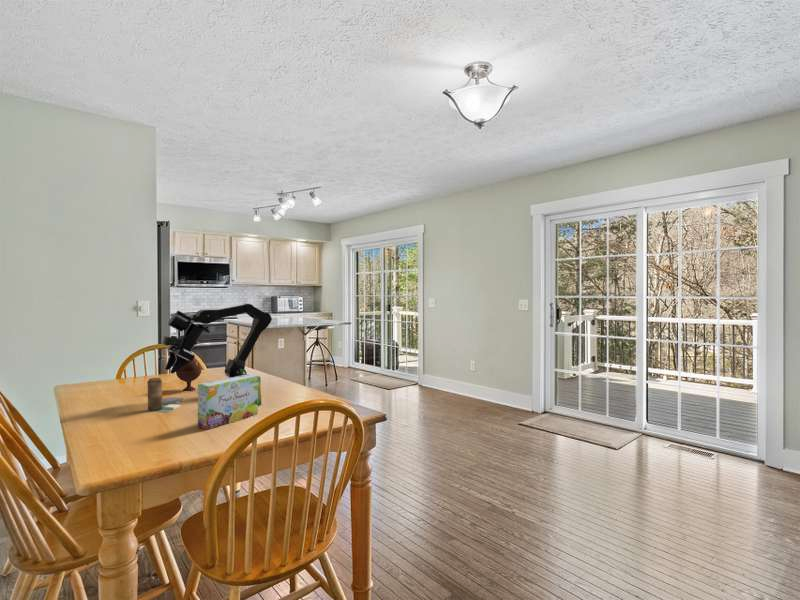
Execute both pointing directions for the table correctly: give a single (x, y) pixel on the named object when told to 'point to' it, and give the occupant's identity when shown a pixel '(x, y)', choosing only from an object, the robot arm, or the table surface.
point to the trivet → (171, 400)
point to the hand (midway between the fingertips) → (168, 371)
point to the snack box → (227, 401)
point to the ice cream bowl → (189, 374)
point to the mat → (167, 408)
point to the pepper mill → (154, 394)
